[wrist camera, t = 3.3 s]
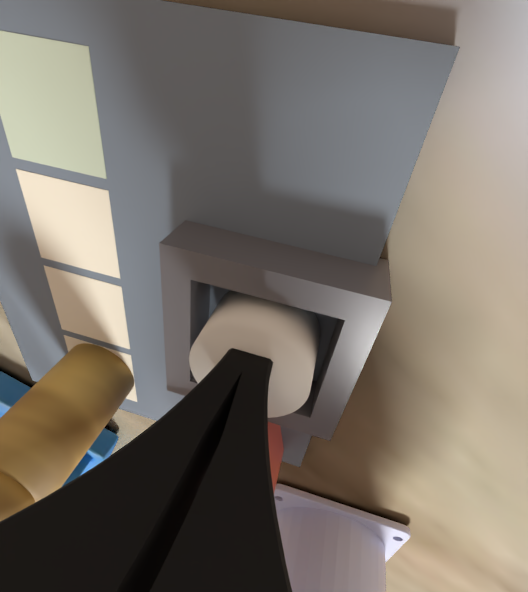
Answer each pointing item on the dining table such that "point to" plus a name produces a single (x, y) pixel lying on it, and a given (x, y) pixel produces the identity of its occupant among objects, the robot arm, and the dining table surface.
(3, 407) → the file sorter
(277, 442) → the die
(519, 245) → the dining table surface
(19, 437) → the tan rounded peg
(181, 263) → the dome housing
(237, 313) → the dome
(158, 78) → the board
